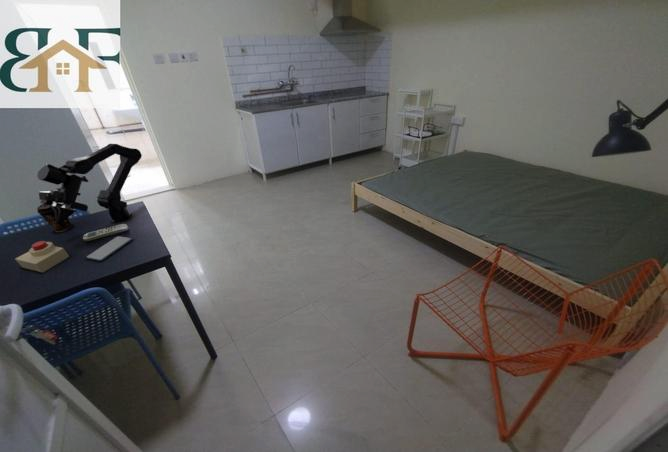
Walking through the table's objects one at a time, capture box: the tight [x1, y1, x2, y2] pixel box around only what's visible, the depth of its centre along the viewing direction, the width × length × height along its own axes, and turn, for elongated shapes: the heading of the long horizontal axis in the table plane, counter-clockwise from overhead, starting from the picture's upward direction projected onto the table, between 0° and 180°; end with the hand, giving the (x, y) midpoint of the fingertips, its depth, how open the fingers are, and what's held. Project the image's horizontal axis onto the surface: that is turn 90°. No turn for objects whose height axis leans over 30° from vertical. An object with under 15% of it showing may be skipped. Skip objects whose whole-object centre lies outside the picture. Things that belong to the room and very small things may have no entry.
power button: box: [31, 240, 48, 251], centre depth 110 cm, size 4×4×2 cm
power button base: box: [14, 241, 70, 274], centre depth 111 cm, size 10×12×6 cm
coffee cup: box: [36, 203, 73, 233], centre depth 131 cm, size 9×8×13 cm
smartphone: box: [86, 235, 133, 262], centre depth 118 cm, size 8×1×15 cm
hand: (57, 224), depth 115 cm, fingers closed
